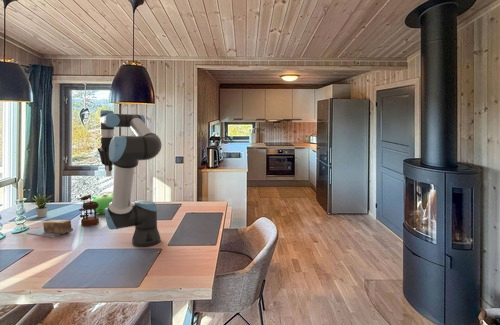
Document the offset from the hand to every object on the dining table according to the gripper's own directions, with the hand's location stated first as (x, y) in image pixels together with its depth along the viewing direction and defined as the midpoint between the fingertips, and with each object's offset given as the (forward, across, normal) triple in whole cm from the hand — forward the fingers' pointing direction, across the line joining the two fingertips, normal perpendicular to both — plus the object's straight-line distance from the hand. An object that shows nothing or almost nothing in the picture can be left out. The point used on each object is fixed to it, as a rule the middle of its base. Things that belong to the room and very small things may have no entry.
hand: (108, 176), depth 184 cm
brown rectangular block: (+30, +21, +11) cm, 38 cm away
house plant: (+35, +64, -11) cm, 74 cm away
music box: (+35, +22, -9) cm, 42 cm away
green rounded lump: (+35, +30, -32) cm, 56 cm away
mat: (+34, +33, +11) cm, 49 cm away
